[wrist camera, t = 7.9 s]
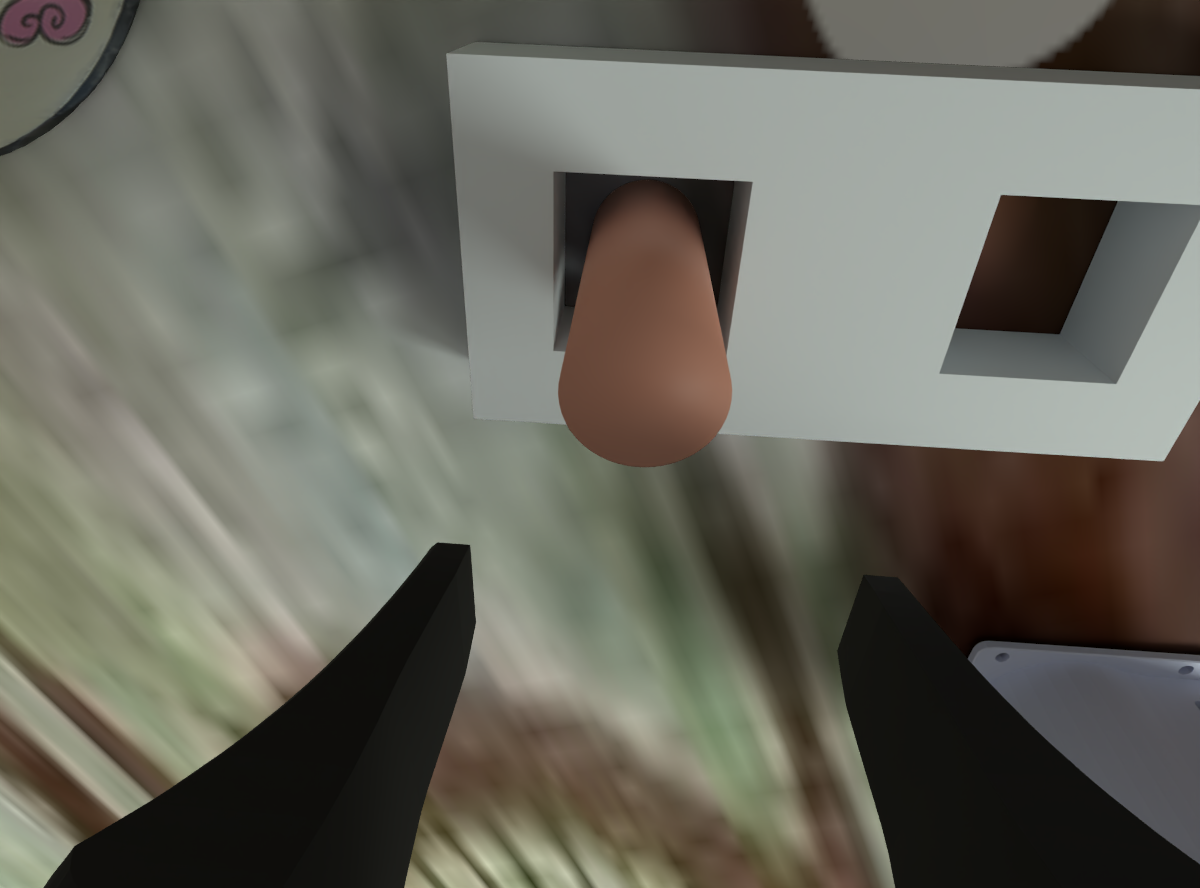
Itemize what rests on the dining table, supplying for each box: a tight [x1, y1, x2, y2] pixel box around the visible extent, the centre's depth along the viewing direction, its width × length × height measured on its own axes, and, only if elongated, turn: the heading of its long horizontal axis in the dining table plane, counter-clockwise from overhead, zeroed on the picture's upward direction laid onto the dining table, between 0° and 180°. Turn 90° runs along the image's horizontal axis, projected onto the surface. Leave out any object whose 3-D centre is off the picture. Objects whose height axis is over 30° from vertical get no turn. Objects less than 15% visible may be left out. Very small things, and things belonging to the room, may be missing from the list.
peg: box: [558, 180, 732, 467], centre depth 16 cm, size 3×3×9 cm
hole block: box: [446, 42, 1200, 461], centre depth 18 cm, size 19×9×3 cm, turn 88°
